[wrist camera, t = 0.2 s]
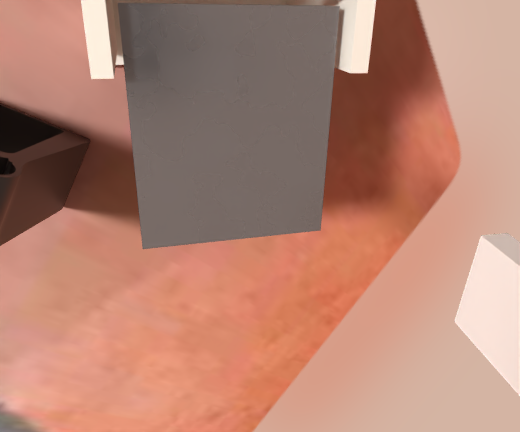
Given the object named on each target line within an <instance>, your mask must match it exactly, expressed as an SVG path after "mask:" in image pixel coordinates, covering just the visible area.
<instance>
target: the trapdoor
mask: <svg viewBox="0 0 520 432" xmlns="http://www.w3.org/2000/svg"><path fill="white" fill-rule="evenodd" d="M339 9H340V6H325V5H258V4H191V3H124V2H118V12H119V22H120V31H121V41H122V51H123V61H124V70H125V80H126V90H127V100H128V109H129V119H130V129H131V139H132V148H133V158H134V168H135V178H136V187H137V197H138V207H139V217H140V226H141V236H142V246H143V249H149V248H158V247H168V246H177V245H187V244H196V243H206V242H215V241H225V240H234V239H243V238H253V237H262V236H272V235H281V234H291V233H300V232H310V231H319V230H321V219H322V207H323V196H324V184H325V172H326V161H327V149H328V137H329V126H330V114H331V102H332V90H333V79H334V67H335V55H336V44H337V32H338V20H339Z"/></svg>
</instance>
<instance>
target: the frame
mask: <svg viewBox="0 0 520 432" xmlns="http://www.w3.org/2000/svg"><path fill="white" fill-rule="evenodd" d="M118 2H124V3H191V4H258V5H325V6H340V9H339V20H338V32H337V44H336V55H335V68H338V69H340V70H343V71H345V72H348V73H368V66H369V57H370V49H371V40H372V31H373V23H374V14H375V5H376V0H81V5H82V12H83V20H84V27H85V35H86V42H87V50H88V57H89V65H90V72H91V79H114V74H115V66H116V65H124V61H123V51H122V41H121V31H120V22H119V12H118Z"/></svg>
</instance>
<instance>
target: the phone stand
mask: <svg viewBox="0 0 520 432" xmlns="http://www.w3.org/2000/svg"><path fill="white" fill-rule="evenodd" d="M89 143H90V140H89V139H87V138H85V137H83V136H80V135H78V134H75V133H73V132H70V131H68V130H65V129H63V128H60V127H58V126H56V125H53V124H51V123H48V122H46V121H43V120H41V119H38V118H36V117H33V116H31V115H26V114H25V113H23V112H21V111H18V110H16V109H14V108H11V107H9V106H6V105H4V104H1V103H0V246H1V245H2V244H4V243H6V242H8V241H9V240H11V239H13V238H14V237H16V236H18V235H19V234H21V233H23V232H24V231H26V230H28V229H29V228H31V227H33V226H35V225H36V224H38V223H40V222H41V221H43V220H45V219H46V218H48V217H50V216H51V215H53V214H55V213H56V212H58V211H60V210H62V208H63V206H64V203H65V201H66V199H67V196H68V194H69V191H70V189H71V186H72V184H73V182H74V179H75V177H76V174H77V172H78V170H79V167H80V165H81V162H82V160H83V157H84V155H85V153H86V150H87V148H88V145H89Z"/></svg>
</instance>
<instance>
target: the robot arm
mask: <svg viewBox="0 0 520 432" xmlns="http://www.w3.org/2000/svg"><path fill="white" fill-rule="evenodd" d="M455 323H456V324H457V325H458V326H459V328H460V329H461V330H462V331H463V332H464V333H465V334H466V335H467V337H468V338H469V339H470V340H471V341H472V342H473V343H474V345H475V346H476V347H477V348H478V349H479V350H480V351H481V352H482V354H483V355H484V356H485V357H486V358H487V359H488V360H489V362H490V363H491V364H492V365H493V366H494V367H495V368H496V370H498V372H499V373H500V374H501V375H502V376H503V377H504V379H505V380H506V381H507V382H508V383H509V384H510V385H511V386H512V388H513V389H514V390H515V391H516V392H517V393H518V395H519V396H520V242H519V241H517V240H516V239H515V238H513V237H512V236H511V235H509V234H508V233H505V234H493V235H482V236H481V237H480V241H479V244H478V247H477V250H476V254H475V257H474V260H473V263H472V267H471V270H470V273H469V276H468V279H467V283H466V286H465V289H464V292H463V295H462V299H461V302H460V305H459V308H458V312H457V315H456V318H455Z"/></svg>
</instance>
